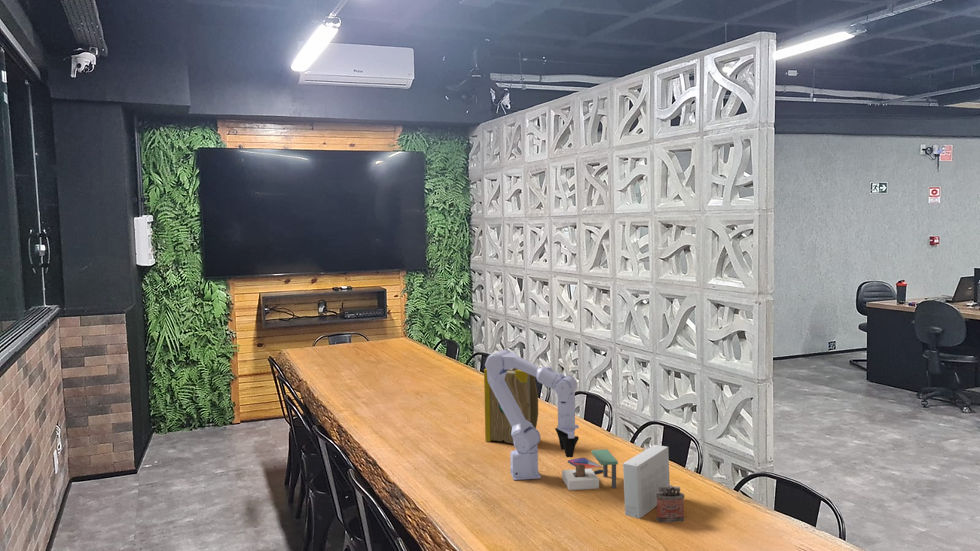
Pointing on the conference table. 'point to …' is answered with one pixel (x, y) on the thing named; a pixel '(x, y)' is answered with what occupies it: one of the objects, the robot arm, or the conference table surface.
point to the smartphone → (587, 464)
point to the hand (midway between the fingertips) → (566, 453)
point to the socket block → (580, 480)
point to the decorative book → (523, 394)
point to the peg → (580, 470)
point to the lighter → (670, 504)
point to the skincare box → (645, 480)
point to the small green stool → (606, 463)
